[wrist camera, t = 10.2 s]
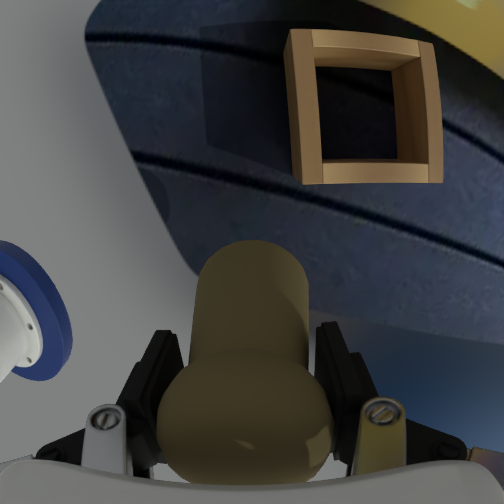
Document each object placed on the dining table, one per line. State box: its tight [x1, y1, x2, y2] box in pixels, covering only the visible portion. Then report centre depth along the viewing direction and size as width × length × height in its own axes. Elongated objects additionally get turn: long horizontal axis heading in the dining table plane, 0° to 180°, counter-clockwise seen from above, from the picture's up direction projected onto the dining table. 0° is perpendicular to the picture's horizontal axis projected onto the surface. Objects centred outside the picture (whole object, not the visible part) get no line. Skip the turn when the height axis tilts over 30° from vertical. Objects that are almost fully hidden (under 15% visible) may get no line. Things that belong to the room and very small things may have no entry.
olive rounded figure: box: [156, 240, 335, 485], centre depth 12 cm, size 6×6×11 cm
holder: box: [283, 29, 443, 185], centre depth 18 cm, size 9×9×5 cm
